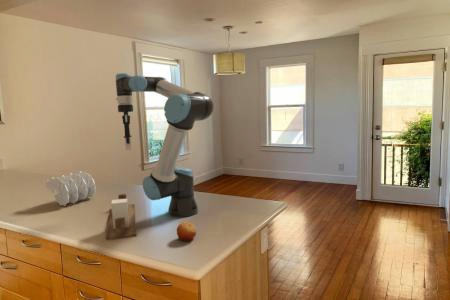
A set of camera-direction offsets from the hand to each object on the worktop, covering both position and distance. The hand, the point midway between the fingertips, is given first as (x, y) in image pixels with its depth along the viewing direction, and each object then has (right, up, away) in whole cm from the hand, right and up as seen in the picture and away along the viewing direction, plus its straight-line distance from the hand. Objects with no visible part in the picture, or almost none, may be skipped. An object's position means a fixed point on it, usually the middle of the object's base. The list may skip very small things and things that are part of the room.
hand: (128, 149), depth 178 cm
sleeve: (+4, -34, -27) cm, 44 cm away
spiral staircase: (-38, -31, +23) cm, 55 cm away
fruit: (+35, -37, -39) cm, 64 cm away
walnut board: (+1, -34, -13) cm, 37 cm away
